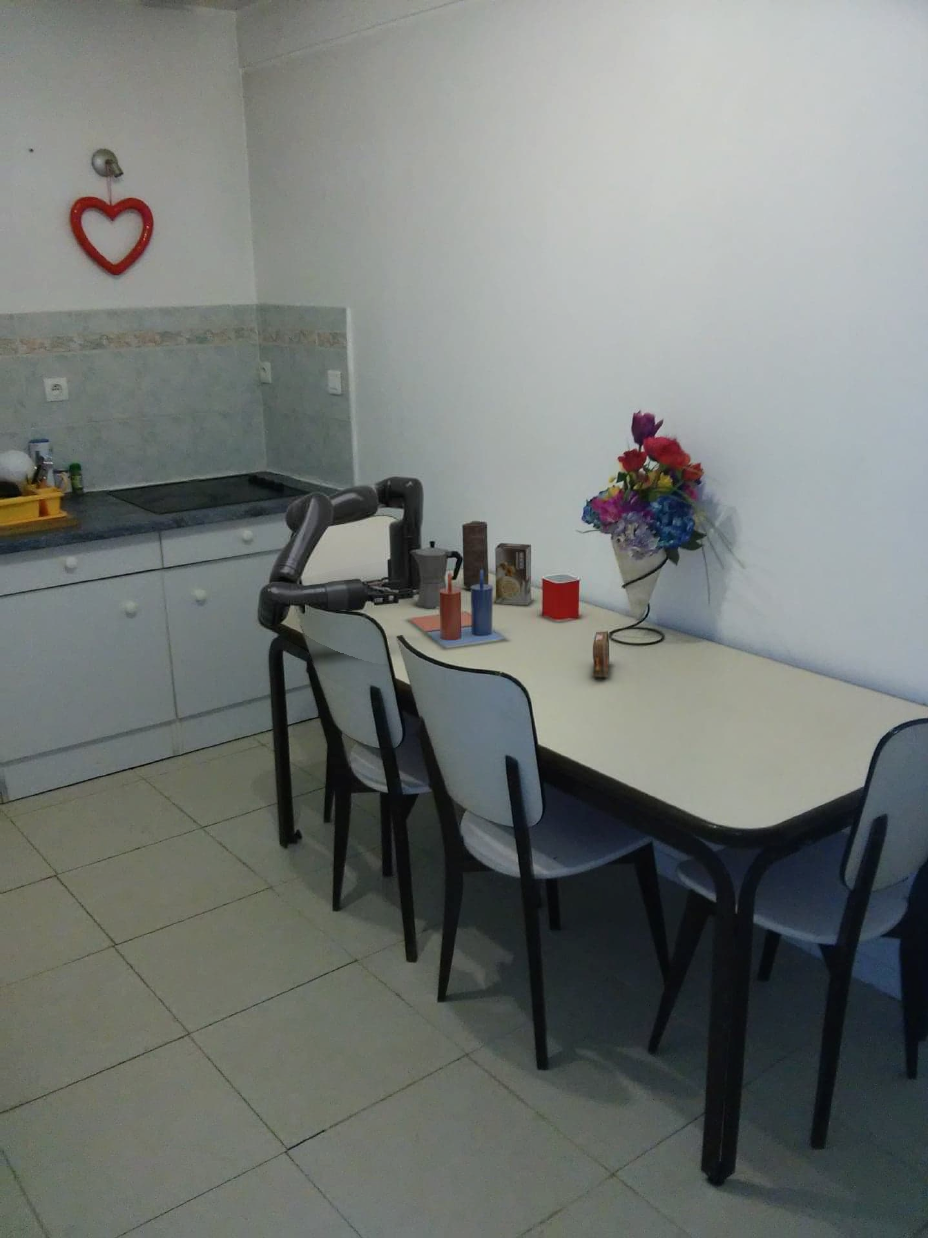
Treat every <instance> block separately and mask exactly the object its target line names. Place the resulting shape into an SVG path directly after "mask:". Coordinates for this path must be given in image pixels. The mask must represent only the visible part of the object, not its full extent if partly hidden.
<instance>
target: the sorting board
mask: <svg viewBox="0 0 928 1238" xmlns="http://www.w3.org/2000/svg"><path fill="white" fill-rule="evenodd" d="M408 619H409V620H410V621H412V622H413V623H414V624H415V625H416V626H418V627H419V628H421V629H422V630H423V631H424V632H425V633H426V634H428V635H430V636H431V638H433V639H435V640H436V641H437V642H439V644H441V645H442V646H444V647H445V648H447V647H448V648H449V647H453V646H461V645H469V644H476V643H482V642H483V643H484V642H491V641H497V640H504V639H506V638H505V637H504V636H502V635H501V634H500V633H498V632H496V631H495V630H493V633H492V634H491V635H487V636H476V635H473V634H472V633H471V614H470V613H468V612H467V611H461V636H462V637H461V638H460V639H457V640H443V639H441V638H440V614H434V615H433V614H432V615H425V616H416V617H410V618H408Z"/></svg>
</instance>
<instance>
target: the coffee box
mask: <svg viewBox="0 0 928 1238" xmlns="http://www.w3.org/2000/svg"><path fill="white" fill-rule="evenodd" d="M494 549H495V550H494V555H495V556H494V559H495V560H494V561H495V563H494V564H495V604H498V605H499V604H500V605H513V606H514V605H516V606H528V604H530V602H531V601H532V545H531V544H526V543H525V544H524V543H508V542H507V543H506V542H505V543H504V542H500V543H499V544H497V545H496V547H495V548H494Z"/></svg>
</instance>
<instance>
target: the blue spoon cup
mask: <svg viewBox="0 0 928 1238" xmlns="http://www.w3.org/2000/svg"><path fill="white" fill-rule="evenodd" d="M470 615H471V633H472V634H473V635H476V636H487V635H491V634H492V633H493V631H494V630H493V626H494V625H493V621H494V620H493V586H492V585H490V584H489V585H486V584H483V570H480V584H477V585H473V586H471V589H470Z"/></svg>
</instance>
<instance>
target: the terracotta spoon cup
mask: <svg viewBox="0 0 928 1238" xmlns="http://www.w3.org/2000/svg"><path fill="white" fill-rule="evenodd" d="M452 576H453V574H452V573H451V572H449V573H447V587H446V588H444V589H441V590H439V608H438V609H439V613H438V615H440V638H441V639H443V640H457V639H460V638H461V637H462V636H461V612H462V590H461V589H460V588H457V587H453V580H452Z"/></svg>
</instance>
